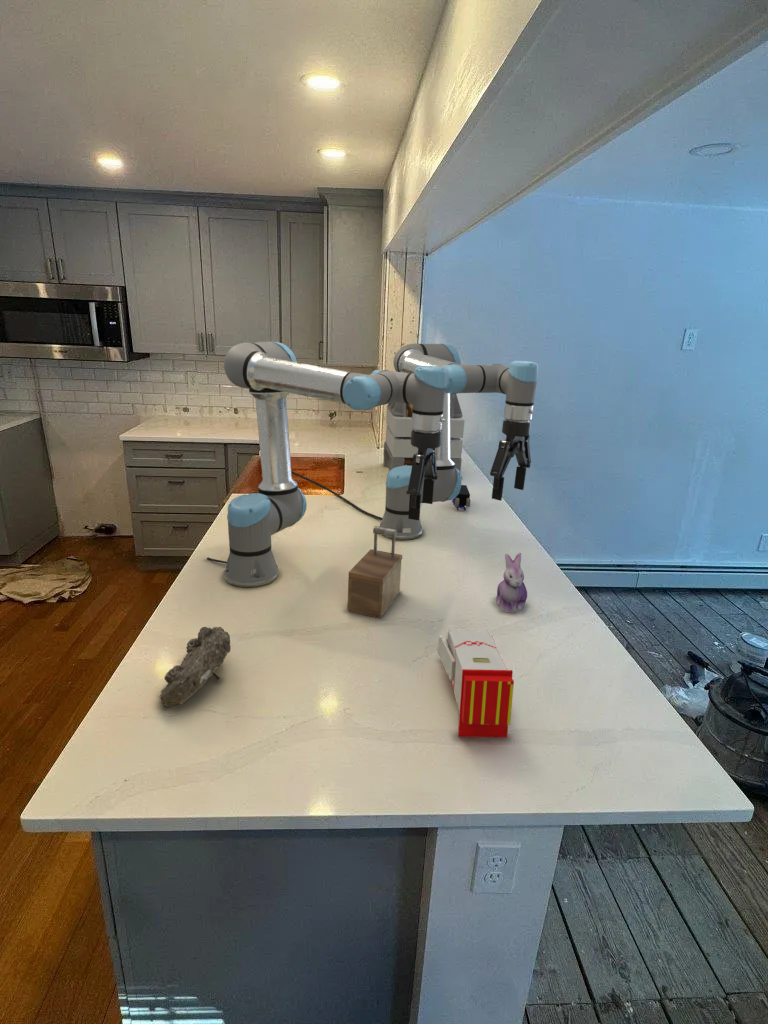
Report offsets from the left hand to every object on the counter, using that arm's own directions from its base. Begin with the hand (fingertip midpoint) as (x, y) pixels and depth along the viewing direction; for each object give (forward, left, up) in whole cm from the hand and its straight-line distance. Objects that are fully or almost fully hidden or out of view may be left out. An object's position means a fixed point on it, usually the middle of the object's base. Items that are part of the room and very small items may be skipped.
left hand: (420, 510), depth 148 cm
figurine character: (-5, +82, -25) cm, 86 cm away
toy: (+22, -35, -25) cm, 49 cm away
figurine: (+25, +6, -25) cm, 37 cm away
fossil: (-32, -52, -25) cm, 66 cm away
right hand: (+19, +22, +1) cm, 30 cm away
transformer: (-33, +122, -25) cm, 129 cm away
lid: (-10, -6, -15) cm, 19 cm away
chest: (-10, -7, -25) cm, 28 cm away
